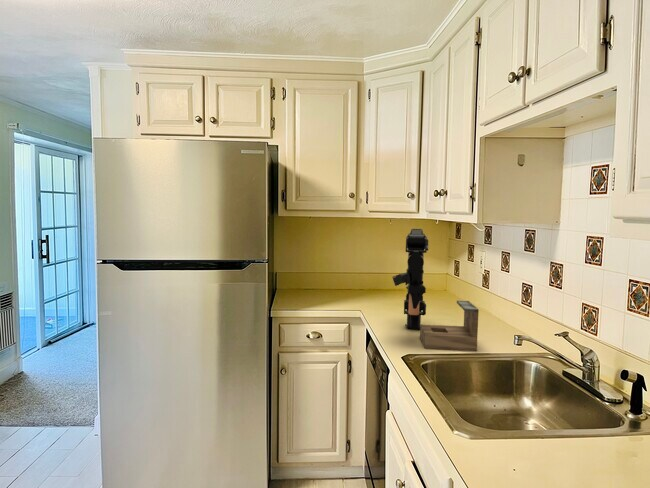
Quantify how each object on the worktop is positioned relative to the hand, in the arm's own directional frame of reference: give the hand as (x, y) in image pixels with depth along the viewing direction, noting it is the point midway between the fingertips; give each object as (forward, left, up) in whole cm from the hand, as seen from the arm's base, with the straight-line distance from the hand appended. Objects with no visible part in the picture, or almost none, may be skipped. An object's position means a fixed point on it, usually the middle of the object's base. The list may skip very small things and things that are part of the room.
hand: (414, 307), depth 157 cm
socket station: (+3, +12, -13) cm, 18 cm away
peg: (0, 0, -2) cm, 3 cm away
